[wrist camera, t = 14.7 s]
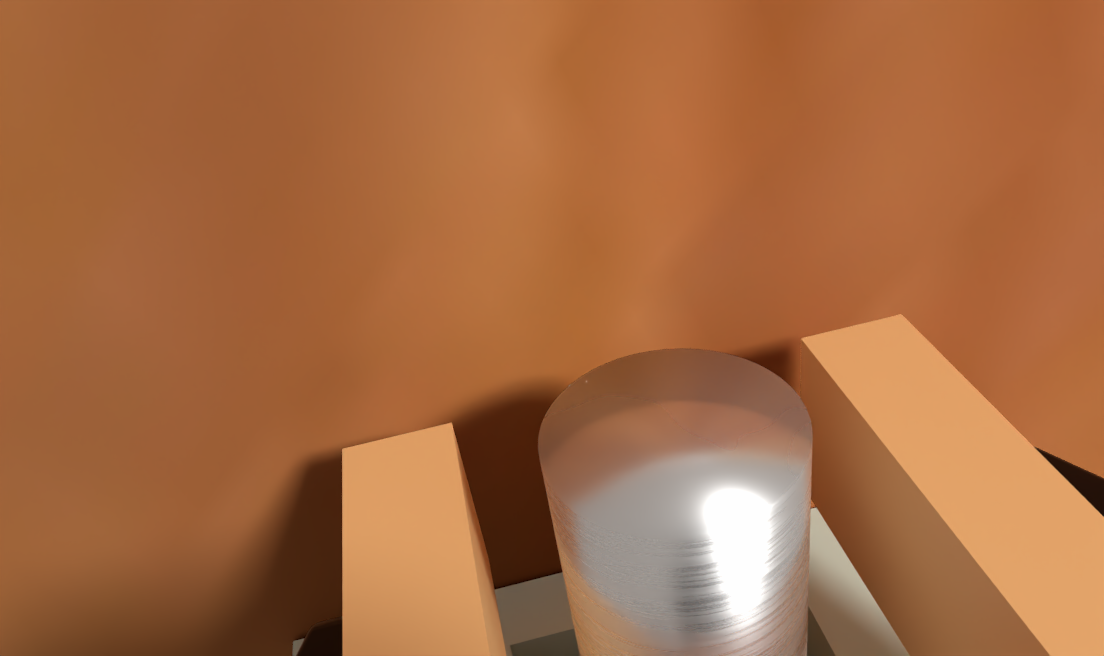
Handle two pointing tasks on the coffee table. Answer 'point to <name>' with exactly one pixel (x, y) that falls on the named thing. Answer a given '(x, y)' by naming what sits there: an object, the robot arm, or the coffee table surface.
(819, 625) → the block
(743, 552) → the pin
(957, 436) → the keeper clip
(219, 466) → the coffee table surface
